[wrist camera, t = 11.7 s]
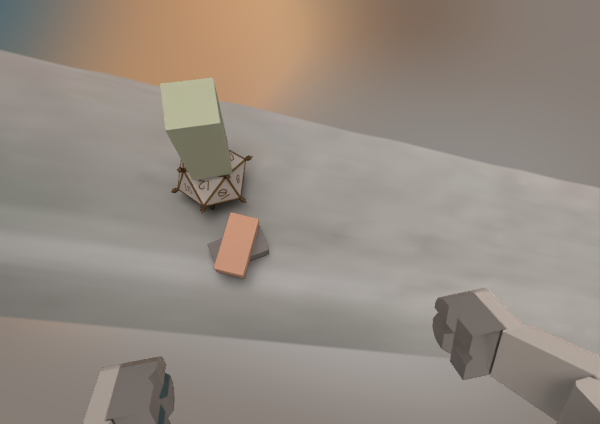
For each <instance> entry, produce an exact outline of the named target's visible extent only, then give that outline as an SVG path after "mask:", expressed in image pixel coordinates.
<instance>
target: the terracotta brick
mask: <svg viewBox="0 0 600 424" xmlns="http://www.w3.org/2000/svg"><path fill="white" fill-rule="evenodd" d="M258 228H259V219H256V218H252V217H248V216H244V215H240V214H236V213H232V212H231V213H230V216H229V219H228V223H227V226H226V229H225V233H224V236H223V239H222V242H221V246H220V249H219V252H218V256H217V259H216V262H215V265H214V269H215V270H216V271H217V272H220V273H224V274H228V275H232V276H236V277H240V278H244V279H245V275H246V272H247V268H248V264H249V261H250V257H251V254H252V250H253V246H254V243H255V239H256V235H257V232H258Z"/></svg>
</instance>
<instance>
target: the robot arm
mask: <svg viewBox="0 0 600 424" xmlns="http://www.w3.org/2000/svg"><path fill="white" fill-rule="evenodd" d="M435 308H436V310H437V311H438V313H437V314H436V316H435V317H434V318H433V331H434V335H435V338H436V340H437V342H438V344H439V345H440V347H441V348H442V349H443V350H445V351H446V352H448V353H450V354H451V358H450V362H451V363H452V365H453V366H454V368H455V369H456V371H457V372H458V373H459V375H460V376H461V378H462V379H463V380H467V379H471V378H476V377H481V376H485V375H490V374H491V375H490V376H491V377H493V378H494V379H496V380H497V381H498V382H500V383H501V384H503V385H504V386H506V387H507V388H509V389H510V390H512V391H513V392H515V393H516V394H517V395H519V396H520V397H522V398H523V399H525V400H526V401H528V402H529V403H531V404H532V405H534V406H535V407H537V408H538V409H540V410H541V411H543V412H544V413H546V414H547V415H548V416H550V417H551V418H553V419H554V420H556V421H557V423H556V424H600V356H599V355H597V354H595V353H592V352H590V351H588V350H585V349H583V348H581V347H579V346H576V345H574V344H572V343H569V342H567V341H565V340H563V339H560V338H558V337H556V336H553V335H551V334H549V333H547V332H544V331H542V330H540V329H537V328H535V327H533V326H531V325H523V324H522V323H521V322H520V321H519V320H518V319H517V318H516V317H515V316H514V315H513V314H512V313H511V312H510V311H509V310H508V309H507V308H506V307H505V306H504V305H503V304H502V303H501V302H500V301H499V300H498V299H497V298H496V297H495V296H494V295H493V294H492V293H491V292H490V291H489V290H488V289H486V288H481V289H476V290H472V291H468V292H462V293H457V294H453V295H449V296H444V297H440V298H438V299H437V300H436V303H435ZM165 369H166V364H165V361H164V359H163V357H156V358H150V359H144V360H139V361H134V362H128V363H123V364H119V365H113V366H108V367H104V368H103V369H102V370H101V371H100V373H99V375H98V378H97V381H96V384H95V387H94V390H93V393H92V396H91V399H90V402H89V405H88V408H87V411H86V414H85V418H84V421H83V423H82V424H170V422H169V419H168V418H169V416H170V415H171V413H172V412H173V411H174V387H173V382H172V379H171V376H170V375H169V374H167V373H165Z"/></svg>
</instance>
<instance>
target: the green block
mask: <svg viewBox="0 0 600 424" xmlns="http://www.w3.org/2000/svg"><path fill="white" fill-rule="evenodd" d="M160 86H161V95H162V104H163V113H164V121H165V130H166V132H167V134H168V136H169V138H170V139H171V141H172V143H173V145H174V147H175V149H176V150H177V152H178V154H179V156H180V158H181V160H182V162H183V163H184V165H185V167H186V169H187V171H188V173H189V174H190V176H191V178H192V180H195V179H202V178H209V177H215V176H222V175H228V174H233V173H232V166H231V160H230V154H229V148H228V142H227V136H226V132H225V128H224V123H223V119H222V115H221V110H220V106H219V101H218V97H217V93H216V88H215V84H214V79H213V78H206V79H197V80H189V81H180V82H172V83H163V84H160Z"/></svg>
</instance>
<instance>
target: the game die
mask: <svg viewBox="0 0 600 424" xmlns="http://www.w3.org/2000/svg"><path fill="white" fill-rule="evenodd" d="M229 154H230V160H231V166H232V173H233V174H228V175H222V176H215V177H209V178H202V179H195V180H192V178H191V176H190V174H189V173H188V171H187V169H186V167H185V165H184V163H183V162H182V160H181V164H180V167H179V168H178V169H177V170H178V172H179V181H178V188H175V189H173V190H172V191H171V192H172V193H176V192H178V191H181V192H182V193H184V194H185V195H187V196H188V197H190V198H191V199H192V200H194V201H195V202H197V203H198V204H200V205H201V206H202V207H201V209H200V211H201V213H203V212H205V209H206V208H205V207H207V206H210V209H211V210H212V209H213V208H215V207H214V205H215V204H219V203H224V202H228V201H232V200H237V199H240V200H241V201H242V203H246V200H245V199H244V198H243V197H241V194H242V186H243V179H244V171H245V163H246V161H249V160H251V158H252V157H253V156H249V155H248V156H246V158H243V157H241V156H240V155H238V154H236V153H234V152H232V151H231V150H229Z"/></svg>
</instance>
